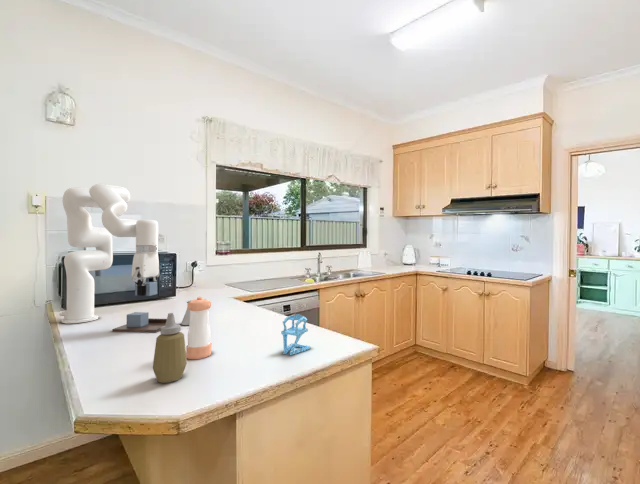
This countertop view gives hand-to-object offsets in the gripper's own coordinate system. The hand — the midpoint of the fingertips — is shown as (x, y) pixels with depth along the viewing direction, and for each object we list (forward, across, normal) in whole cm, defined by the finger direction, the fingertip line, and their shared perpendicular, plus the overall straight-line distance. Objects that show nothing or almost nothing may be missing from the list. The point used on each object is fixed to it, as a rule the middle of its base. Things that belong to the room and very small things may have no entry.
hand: (146, 293), depth 137 cm
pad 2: (+14, -4, -6) cm, 16 cm away
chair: (+15, +20, +67) cm, 71 cm away
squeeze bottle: (+15, +44, +39) cm, 61 cm away
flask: (+15, -12, +12) cm, 23 cm away
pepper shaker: (+15, +26, +37) cm, 47 cm away
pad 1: (0, 0, 0) cm, 0 cm away
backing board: (+15, -4, -3) cm, 16 cm away
